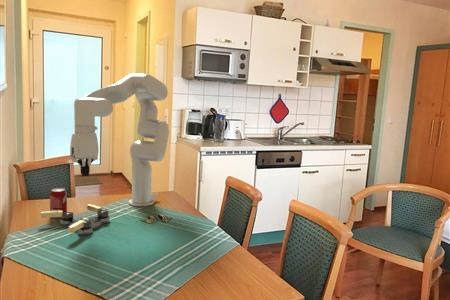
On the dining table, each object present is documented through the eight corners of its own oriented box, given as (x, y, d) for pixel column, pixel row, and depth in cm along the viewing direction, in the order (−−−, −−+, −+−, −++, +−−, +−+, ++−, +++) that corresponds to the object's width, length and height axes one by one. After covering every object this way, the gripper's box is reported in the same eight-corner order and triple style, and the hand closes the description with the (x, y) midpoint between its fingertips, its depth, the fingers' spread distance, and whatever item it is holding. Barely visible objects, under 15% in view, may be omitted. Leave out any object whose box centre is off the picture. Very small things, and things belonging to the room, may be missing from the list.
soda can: (60, 219, 163) (60, 192, 161) (46, 217, 164) (46, 190, 162) (70, 214, 169) (69, 188, 168) (56, 213, 171) (56, 187, 169)
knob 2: (110, 216, 162) (110, 208, 162) (102, 219, 159) (101, 210, 158) (91, 210, 169) (91, 202, 169) (83, 212, 166) (83, 204, 165)
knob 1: (83, 225, 151) (83, 216, 150) (93, 226, 150) (93, 217, 149) (63, 236, 138) (63, 227, 138) (74, 237, 137) (74, 228, 137)
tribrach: (96, 215, 170) (96, 207, 170) (121, 226, 158) (121, 218, 157) (58, 223, 157) (58, 215, 157) (82, 236, 145) (82, 227, 144)
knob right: (73, 217, 160) (73, 208, 159) (73, 220, 156) (73, 211, 155) (40, 219, 156) (39, 210, 155) (38, 222, 152) (38, 213, 151)
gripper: (96, 128, 158) (96, 171, 161) (61, 129, 147) (62, 176, 150) (106, 130, 154) (106, 174, 156) (71, 131, 142) (71, 179, 145)
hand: (85, 175), depth 153 cm, fingers closed
